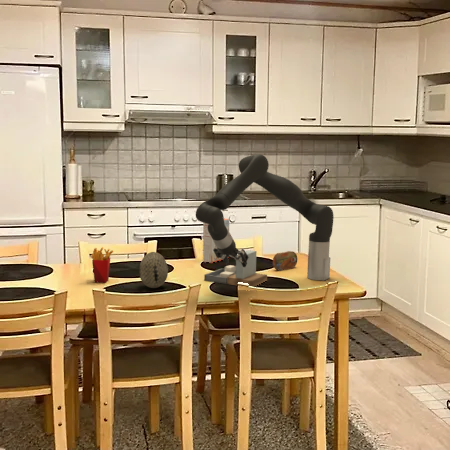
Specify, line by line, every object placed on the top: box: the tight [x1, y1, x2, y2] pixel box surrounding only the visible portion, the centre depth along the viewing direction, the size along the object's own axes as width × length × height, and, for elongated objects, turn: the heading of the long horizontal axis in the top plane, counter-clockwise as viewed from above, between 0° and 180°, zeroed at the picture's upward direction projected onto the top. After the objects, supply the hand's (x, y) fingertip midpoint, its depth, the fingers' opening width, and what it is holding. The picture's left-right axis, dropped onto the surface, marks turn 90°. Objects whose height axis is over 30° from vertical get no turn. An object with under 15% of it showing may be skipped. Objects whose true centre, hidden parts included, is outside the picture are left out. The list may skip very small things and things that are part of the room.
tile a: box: [224, 264, 236, 274], centre depth 274 cm, size 4×4×3 cm
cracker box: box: [202, 217, 230, 264], centre depth 307 cm, size 14×6×21 cm, turn 141°
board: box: [226, 272, 268, 287], centre depth 266 cm, size 12×14×3 cm
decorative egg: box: [138, 251, 169, 289], centre depth 253 cm, size 12×12×15 cm
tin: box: [272, 250, 298, 271], centre depth 294 cm, size 15×3×8 cm, turn 131°
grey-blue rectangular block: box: [235, 249, 257, 279], centre depth 266 cm, size 4×12×10 cm, turn 150°
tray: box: [203, 267, 236, 285], centre depth 272 cm, size 11×15×3 cm
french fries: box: [91, 246, 114, 284], centre depth 260 cm, size 9×8×15 cm
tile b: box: [220, 271, 234, 278], centre depth 268 cm, size 4×4×3 cm
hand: (236, 264), depth 259 cm, fingers open, 8 cm apart
